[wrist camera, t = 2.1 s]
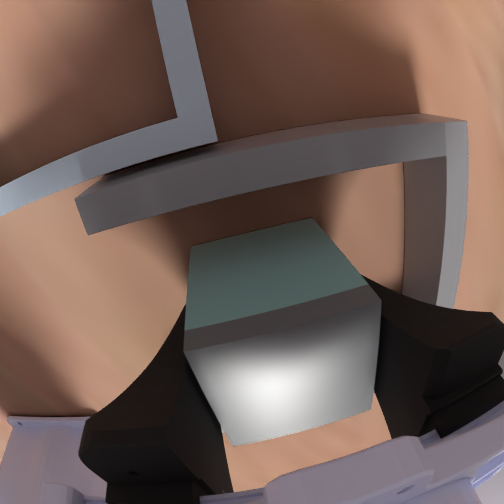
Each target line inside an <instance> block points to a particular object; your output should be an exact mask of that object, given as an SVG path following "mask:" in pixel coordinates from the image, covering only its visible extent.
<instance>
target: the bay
mask: <svg viewBox="0 0 504 504" xmlns="http://www.w3.org/2000/svg"><path fill="white" fill-rule="evenodd" d="M400 162H403V165H404V187H405V249H404V271H403V287H402V295H405V296H407V297H410V298H413V299H416V300H419V301H422V302H425V303H429V304H433V305H437V306H441V307H446V308H451V309H453V307H454V303H455V298H456V292H457V287H458V281H459V275H460V269H461V262H462V255H463V247H464V238H465V229H466V217H467V202H468V175H469V153H468V126H467V121H464V120H459V119H453V118H448V117H442V116H435V115H429V114H422V113H419V114H404V115H391V116H380V117H370V118H361V119H352V120H344V121H337V122H329V123H322V124H316V125H309V126H303V127H297V128H291V129H286V130H280V131H275V132H269V133H264V134H259V135H254V136H250V137H245V138H240V139H236V140H231V141H227V142H222V143H218V144H214V145H210V146H206V147H202V148H198V149H194V150H190V151H186V152H183V153H179V154H175V155H172V156H168V157H165V158H161V159H158V160H154V161H151V162H148V163H144V164H141V165H138V166H135V167H131V168H128V169H125V170H122V171H119V172H116V173H113V174H110V175H107V176H104V177H103V178H101V179H100V180H99V181H97V182H96V183H95V184H93V185H92V186H91V187H89V188H88V189H87V190H85V191H84V192H83V193H82V194H80V195H79V196H78V197H77V198H75V202H76V205H77V208H78V210H79V213H80V216H81V219H82V221H83V224H84V226H85V229H86V232H87V234H88V235H91V234H94V233H98V232H101V231H104V230H108V229H111V228H114V227H118V226H121V225H124V224H128V223H131V222H135V221H138V220H142V219H145V218H149V217H153V216H156V215H160V214H164V213H167V212H171V211H175V210H179V209H182V208H186V207H190V206H194V205H198V204H202V203H206V202H210V201H214V200H218V199H222V198H226V197H230V196H234V195H239V194H243V193H247V192H252V191H256V190H260V189H265V188H269V187H274V186H278V185H283V184H288V183H292V182H297V181H302V180H307V179H312V178H317V177H322V176H327V175H332V174H337V173H343V172H348V171H353V170H359V169H365V168H370V167H376V166H382V165H388V164H394V163H400ZM373 393H375V392H374V391H373ZM221 429H222V433H225V431H224V430H223V428H222V426H221Z"/></svg>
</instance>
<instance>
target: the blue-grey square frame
mask: <svg viewBox="0 0 504 504" xmlns="http://www.w3.org/2000/svg"><path fill="white" fill-rule="evenodd" d="M152 5H153V10H154V14H155V19H156V24H157V29H158V34H159V38H160V43H161V48H162V52H163V57H164V61H165V66H166V70H167V75H168V79H169V83H170V88H171V92H172V96H173V100H174V105H175V109H176V113H177V117H178V118H175V119H171V120H168V121H164V122H161V123H158V124H154V125H151V126H148V127H144V128H141V129H138V130H135V131H132V132H129V133H126V134H123V135H120V136H117V137H114V138H112V139H109V140H106V141H103V142H100V143H98V144H95V145H92V146H90V147H87V148H85V149H82V150H80V151H77V152H75V153H72V154H70V155H67V156H65V157H63V158H60V159H58V160H56V161H53V162H51V163H49V164H47V165H44V166H42V167H40V168H38V169H36V170H34V171H31V172H29V173H27V174H25V175H23V176H21V177H19V178H17V179H15V180H13V181H11V182H9V183H7V184H5V185H3V186H1V187H0V216H2V215H4V214H6V213H9V212H11V211H13V210H15V209H17V208H20V207H22V206H24V205H26V204H29V203H31V202H33V201H36V200H38V199H40V198H43V197H45V196H48V195H50V194H52V193H55V192H57V191H60V190H62V189H65V188H68V187H70V186H73V185H75V184H78V183H81V182H84V181H86V180H89V179H92V178H95V177H97V176H100V175H103V174H106V173H109V172H112V171H115V170H118V169H121V168H124V167H127V166H130V165H133V164H136V163H140V162H143V161H146V160H149V159H153V158H156V157H160V156H163V155H167V154H170V153H174V152H177V151H181V150H185V149H189V148H192V147H196V146H200V145H204V144H208V143H212V142H216V141H218V139H217V135H216V130H215V126H214V122H213V117H212V113H211V108H210V104H209V100H208V95H207V91H206V87H205V82H204V78H203V73H202V69H201V65H200V60H199V56H198V51H197V47H196V42H195V38H194V33H193V29H192V24H191V20H190V15H189V11H188V6H187V2H186V0H152Z"/></svg>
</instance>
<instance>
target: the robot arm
mask: <svg viewBox="0 0 504 504" xmlns="http://www.w3.org/2000/svg"><path fill="white" fill-rule="evenodd" d="M361 276H362V277H363V278H364V279H365V281H366V282H367V283H368V284H369V285H370V287H371V288H372V289H373V290H374V292H375V293H376V294H377V295H378V297H379V298H380V299H381V300H382V301H381V319H380V334H379V346H378V357H377V366H376V375H375V384H374V392H375V394H376V397H377V399H378V402H379V404H380V407H381V409H382V412H383V415H384V417H385V420H386V423H387V426H388V429H389V432H390V435H391V438H392V439H391V440H388V441H385V442H383V443H380V444H378V445H375V446H372V447H370V448H367V449H364V450H361V451H359V452H356V453H353V454H350V455H347V456H344V457H341V458H338V459H334V460H331V461H328V462H324V463H321V464H318V465H314V466H310V467H307V468H303V469H299V470H296V471H293V472H290V473H287V474H284V475H281V476H279V477H277V478H275V479H274V480H272V481H271V482H269V483H268V484H267V485H266V486H265V487H264V488H259V489H253V490H247V491H241V492H233V487H232V483H231V479H230V474H229V469H228V464H227V459H226V453H225V448H224V442H223V436H222V429H221V424H220V422H219V421H218V419H217V417H216V415H215V413H214V411H213V409H212V408H211V406H210V404H209V402H208V400H207V398H206V396H205V394H204V392H203V390H202V388H201V386H200V384H199V382H198V380H197V378H196V376H195V374H194V372H193V370H192V368H191V366H190V364H189V362H188V360H187V358H186V356H185V354H184V352H183V349H184V331H185V314H186V305H185V306H184V308H183V310H182V312H181V314H180V316H179V318H178V319H177V321H176V323H175V325H174V327H173V329H172V330H171V332H170V334H169V336H168V337H167V339H166V341H165V342H164V344H163V345H162V347H161V348H160V350H159V351H158V353H157V355H156V356H155V357H154V359H153V360H152V361H151V363H150V364H149V365H148V366H147V368H146V369H145V370H144V371H143V372H142V373H141V375H140V376H139V377H138V378H137V379H136V380H135V381H134V382H133V383H132V384H131V385H130V386H129V387H128V388H127V389H126V390H125V391H124V392H123V393H122V394H120V395H119V396H118V397H117V398H116V399H115V400H113V401H112V402H111V403H110V404H108V405H107V406H106V407H105V408H103V409H102V410H100V411H99V412H97V413H96V414H95V415H93V416H91V417H21V416H8V418H7V421H8V423H9V424H10V425H11V426H12V427H13V429H12V432H11V434H10V437H9V440H8V443H7V446H6V449H5V452H4V455H3V458H2V462H1V465H0V504H482V503H481V501H480V499H479V497H478V495H477V493H476V491H475V490H474V489H475V488H477V487H478V486H479V485H481V484H482V483H484V482H485V481H487V480H488V479H489V478H491V477H492V476H493V475H494V474H496V473H497V472H498V471H500V470H501V469H502V468H504V379H503V378H502V377H501V375H500V374H502V372H503V371H502V368H501V367H500V366H499V365H498V362H499V360H500V358H501V355H502V353H503V351H504V324H503V323H502V322H501V321H500V320H499V319H498V318H497V317H496V316H495V315H494V314H493V313H492V312H477V311H465V310H458V309H451V308H446V307H441V306H437V305H433V304H429V303H425V302H422V301H419V300H416V299H413V298H410V297H407V296H405V295H402V294H400V293H397V292H395V291H393V290H391V289H388V288H386V287H384V286H382V285H380V284H378V283H376V282H374V281H372V280H370V279H368V278H367V277H365V276H363V275H361Z"/></svg>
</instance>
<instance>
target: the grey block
mask: <svg viewBox="0 0 504 504" xmlns="http://www.w3.org/2000/svg"><path fill="white" fill-rule="evenodd" d="M381 301H382V300H381V299H380V298H379V297H378V295H377V294H376V293H375V292H374V290H373V289H372V288H371V287H370V285H369V284H368V283H367V282H366V281H365V279H364V278H363V277H362V276H361V274H360V273H359V272H358V271H357V270H356V268H355V267H354V266H353V265H352V264H351V262H350V261H349V260H348V259H347V258H346V256H345V255H344V254H343V253H342V252H341V251H340V249H339V248H338V247H337V246H336V245H335V244H334V242H333V241H332V240H331V239H330V238H329V237H328V235H327V234H326V233H325V232H324V231H323V230H322V228H321V227H320V226H319V225H318V224H317V223H316V222H315V221H314V219H313V218H308V219H304V220H300V221H295V222H291V223H287V224H282V225H278V226H274V227H270V228H265V229H261V230H257V231H253V232H249V233H244V234H240V235H236V236H232V237H228V238H224V239H220V240H216V241H211V242H207V243H203V244H199V245H195V246H191V251H190V262H189V274H188V286H187V300H186V314H185V331H184V349H183V352H184V354H185V356H186V358H187V360H188V362H189V364H190V366H191V368H192V370H193V372H194V374H195V376H196V378H197V380H198V382H199V384H200V386H201V388H202V390H203V392H204V394H205V396H206V398H207V400H208V402H209V404H210V406H211V408H212V409H213V411H214V413H215V415H216V417H217V419H218V421H219V422H220V424H221V426H222V428H223V430H224V431H225V433H226V435H227V437H228V438H229V440H230V442H231V444H232V445H233V446H238V445H243V444H248V443H254V442H258V441H263V440H268V439H272V438H277V437H281V436H285V435H289V434H293V433H297V432H301V431H305V430H308V429H312V428H315V427H319V426H322V425H326V424H329V423H332V422H335V421H339V420H342V419H345V418H348V417H351V416H354V415H357V414H359V413H362V412H365V411H368V410H371V406H372V399H373V391H374V384H375V375H376V366H377V357H378V346H379V334H380V319H381Z"/></svg>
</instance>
